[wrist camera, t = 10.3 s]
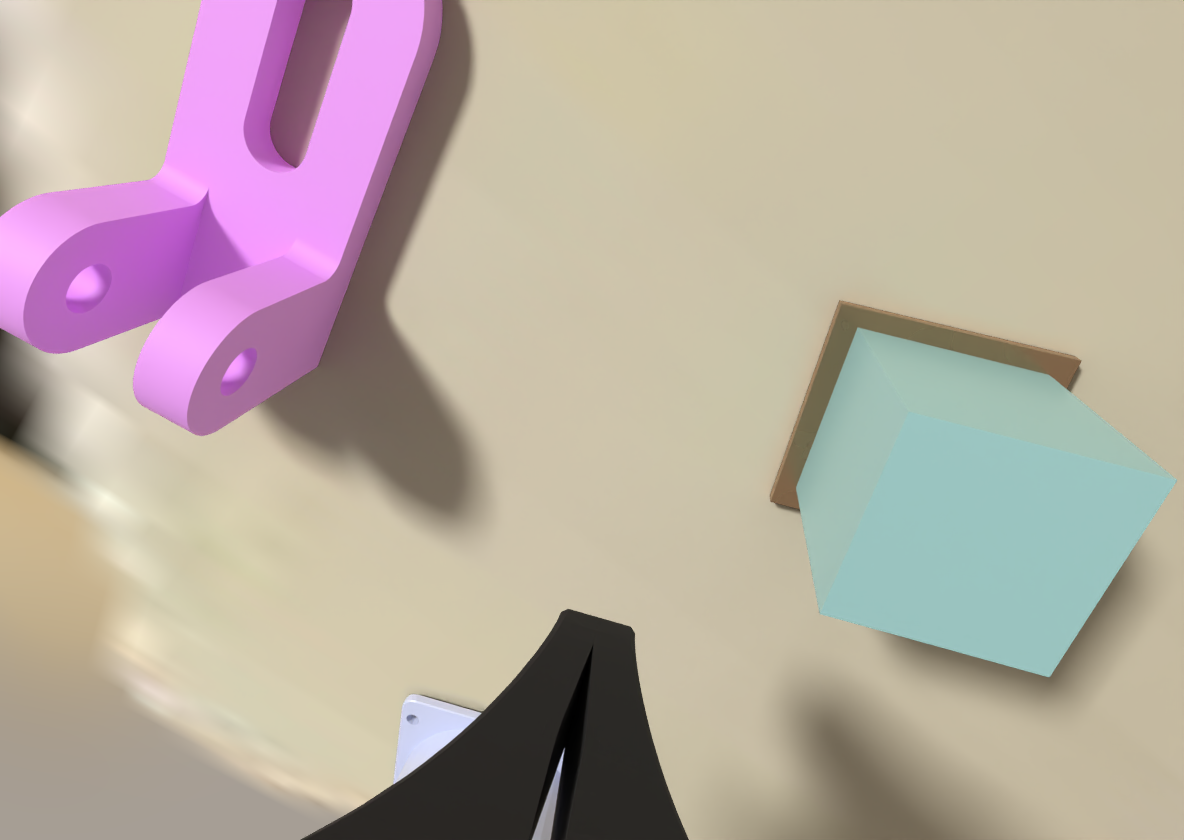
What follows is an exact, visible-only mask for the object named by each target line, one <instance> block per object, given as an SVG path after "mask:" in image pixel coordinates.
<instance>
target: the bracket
mask: <svg viewBox="0 0 1184 840" xmlns="http://www.w3.org/2000/svg"><path fill="white" fill-rule="evenodd" d="M304 4H305V0H202V1H201V6H200V10H199V14H198V19H197V23H196V27H195V32H194V36H193V40H192V45H191V49H190V53H189V58H188V62H187V66H186V71H185V75H184V80H183V84H182V88H181V93H180V97H179V101H178V106H177V110H176V114H175V119H174V123H173V127H172V132H171V136H170V140H169V145H168V149H167V153H166V158H165V162H164V165H163V167H162V169H161V170H160V172H159V173H158V174H157V175H156V176H155V177H154V178H152V179H150V180H146V181H138V182H130V183H122V184H114V185H106V186H98V187H91V188H83V189H75V190H67V191H59V192H51V193H45V194H41V195H37V196H34V197H32V198H29V199H27V200H25V201H23V202H21V203H19V204H18V205H16V206H14V207H13V208H11V209H10V210H9V211H7V212H6V213H5V214H4V215H2V216H1V217H0V328H1V329H3V330H5V331H7V332H9V333H11V334H12V335H14V336H16V337H18V338H20V339H22V340H23V341H25V342H27V343H29V344H31V345H32V346H34V347H36V348H38V349H40V350H42V351H44V352H48V353H58V354H59V353H67V352H71V351H74V350H77V349H80V348H83V347H86V346H88V345H91V344H94V343H96V342H99V341H101V340H104V339H107V338H109V337H112V336H115V335H117V334H120V333H123V332H125V331H128V330H131V329H133V328H136V327H139V326H141V325H144V324H147V323H149V322H152V321H155V320H157V319H160V318H161V319H160V320H159V322H158V323H157V324H156V326H155V327H154V329H153V330H152V332H151V333H150V335H149V337H148V339H147V340H146V342H145V344H144V346H143V348H142V350H141V353H140V355H139V358H138V361H137V364H136V368H135V372H134V378H133V390H134V394H135V397H136V399H137V401H138V402H139V403H140V404H141V405H142V406H144V407H146V408H148V409H149V410H151V411H153V412H155V413H157V414H159V415H160V416H162V417H164V418H166V419H168V420H170V421H171V422H173V423H175V424H177V425H179V426H181V427H182V428H184V429H186V430H188V431H190V432H191V433H193V434H195V435H199V436H204V435H208V434H211V433H214V432H216V431H218V430H219V429H221V428H223V427H224V426H226V425H227V424H229V423H230V422H232V421H233V420H235V419H237V418H238V417H240V416H241V415H243V414H244V413H246V412H248V411H249V410H251V409H252V408H254V407H255V406H257V405H258V404H260V403H262V402H263V401H265V400H266V399H268V398H269V397H271V396H273V395H274V394H276V393H277V392H279V391H280V390H282V389H284V388H285V387H287V386H288V385H290V384H291V383H293V382H294V381H296V380H298V379H299V378H301V377H302V376H304V375H305V374H307V373H309V372H310V371H312V370H313V369H315V368H316V367H318V364H319V361H320V359H321V356H322V354H323V351H324V348H325V346H326V343H327V340H328V338H329V335H330V332H331V330H332V327H333V324H334V322H335V319H336V316H337V314H338V311H339V309H340V306H341V303H342V301H343V298H344V295H345V293H346V290H347V287H348V285H349V282H350V279H351V277H352V274H353V271H354V269H355V266H356V264H357V261H358V258H359V256H360V253H361V250H362V248H363V245H364V242H365V240H366V237H367V234H368V232H369V229H370V226H371V224H372V221H373V219H374V216H375V213H376V211H377V208H378V205H379V203H380V200H381V197H382V195H383V192H384V189H385V187H386V184H387V181H388V179H389V176H390V174H391V171H392V168H393V166H394V163H395V160H396V158H397V155H398V152H399V150H400V147H401V144H402V142H403V139H404V136H405V134H406V131H407V129H408V126H409V123H410V121H411V118H412V115H413V113H414V110H415V107H416V105H417V102H418V99H419V97H420V94H421V92H422V89H423V86H424V84H425V81H426V78H427V76H428V73H429V70H430V68H431V65H432V62H433V60H434V57H435V54H436V51H437V48H438V44H439V39H440V35H441V27H442V11H443V6H442V0H353V3H352V11H351V15H350V18H349V21H348V24H347V27H346V31H345V34H344V37H343V40H342V43H341V46H340V49H339V52H338V56H337V59H336V62H335V65H334V68H333V71H332V74H331V78H330V81H329V84H328V87H327V90H326V93H325V96H324V99H323V103H322V106H321V109H320V112H319V115H318V118H317V121H316V125H315V128H314V131H313V134H312V137H311V140H310V143H309V146H308V150H307V153H306V156H305V158H304V160H303V162H302V163H301V164H300V165H299V166H298V167H297V168H296V167H294V166H292V165H290V164H288V163H287V162H286V161H285V160H283V159H282V158H281V156H280V155H279V154H278V152H277V151H276V149H275V147H274V145H273V143H272V139H271V135H270V122H271V117H272V114H273V111H274V107H275V104H276V100H277V97H278V93H279V90H280V86H281V83H282V80H283V76H284V73H285V69H286V66H287V62H288V59H289V56H290V52H291V49H292V45H293V42H294V38H295V35H296V31H297V28H298V25H299V21H300V18H301V14H302V11H303V7H304Z"/></svg>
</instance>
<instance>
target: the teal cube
mask: <svg viewBox="0 0 1184 840" xmlns="http://www.w3.org/2000/svg"><path fill="white" fill-rule="evenodd" d="M1176 481H1177V479H1175V478H1174V477H1173V476H1172V475H1170V474H1169V473H1168V472H1167V471H1166V470H1164V469H1163V468H1162V467H1161V466H1160V465H1158V464H1157V463H1156V462H1155V461H1153V460H1152V459H1151V458H1150V457H1149V456H1147V455H1146V454H1145V453H1144V452H1142V451H1141V450H1140V449H1139V448H1138V447H1136V446H1135V445H1134V444H1133V443H1132V442H1130V441H1129V440H1128V439H1127V438H1125V437H1124V436H1123V435H1122V434H1121V433H1119V432H1118V431H1117V430H1116V429H1115V428H1113V427H1112V426H1111V425H1110V424H1108V423H1107V422H1106V421H1105V420H1104V419H1102V418H1101V417H1100V416H1099V415H1097V414H1096V413H1095V412H1094V411H1093V410H1091V409H1090V408H1089V407H1088V406H1087V405H1085V404H1084V403H1083V402H1082V401H1080V400H1079V399H1078V398H1077V397H1076V396H1074V395H1073V394H1072V393H1071V392H1069V391H1068V390H1067V389H1066V388H1065V387H1063V386H1062V385H1061V384H1060V383H1059V382H1057V381H1056V380H1055V379H1054V378H1052V377H1051V376H1050V375H1047V374H1043V373H1039V372H1035V371H1031V370H1027V369H1023V368H1019V367H1015V366H1011V365H1007V364H1003V363H999V362H995V361H991V360H987V359H983V358H979V357H975V356H971V355H967V354H963V353H959V352H955V351H951V350H947V349H943V348H939V347H935V346H931V345H927V344H923V343H919V342H915V341H911V340H907V339H903V338H898V337H894V336H890V335H886V334H882V333H878V332H874V331H870V330H866V329H862V328H857V330H856V333H855V335H854V338H853V341H852V343H851V346H850V348H849V351H848V354H847V356H846V359H845V361H844V364H843V367H842V369H841V372H840V374H839V377H838V380H837V382H836V385H835V387H834V390H833V393H832V395H831V398H830V400H829V403H828V406H827V408H826V411H825V413H824V416H823V419H822V421H821V424H820V426H819V429H818V432H817V434H816V437H815V439H814V442H813V445H812V447H811V450H810V452H809V455H808V458H807V460H806V463H805V465H804V468H803V471H802V473H801V476H800V478H799V481H798V484H797V486H796V491H797V496H798V501H799V507H800V512H801V517H802V523H803V528H804V533H805V539H806V544H807V549H808V554H809V560H810V565H811V570H812V576H813V581H814V586H815V592H816V597H817V602H818V607H819V613H820V614H822V615H826V616H829V617H833V618H836V619H840V620H844V621H847V622H851V623H854V624H858V625H862V626H865V627H869V628H872V629H876V630H880V631H883V632H887V633H891V634H894V635H898V636H901V637H905V638H909V639H912V640H916V641H919V642H923V643H927V644H930V645H934V646H938V647H941V648H945V649H948V650H952V651H956V652H959V653H963V654H966V655H970V656H974V657H977V658H981V659H984V660H988V661H992V662H995V663H999V664H1003V665H1006V666H1010V667H1013V668H1017V669H1021V670H1024V671H1028V672H1031V673H1035V674H1039V675H1042V676H1046V677H1050V676H1051V674H1052V673H1053V671H1054V669H1055V668H1056V666H1057V665H1058V663H1059V662H1060V660H1061V659H1062V657H1063V656H1064V654H1065V653H1066V651H1067V649H1068V648H1069V646H1070V645H1071V643H1072V642H1073V640H1074V639H1075V637H1076V636H1077V634H1078V632H1079V631H1080V629H1081V628H1082V626H1083V625H1084V623H1085V622H1086V620H1087V619H1088V617H1089V615H1090V614H1091V612H1092V611H1093V609H1094V608H1095V606H1096V605H1097V603H1098V602H1099V600H1100V599H1101V597H1102V595H1103V594H1104V592H1105V591H1106V589H1107V588H1108V586H1109V585H1110V583H1111V582H1112V580H1113V578H1114V577H1115V575H1116V574H1117V572H1118V571H1119V569H1120V568H1121V566H1122V565H1123V563H1124V561H1125V560H1126V558H1127V557H1128V555H1129V554H1130V552H1131V551H1132V549H1133V548H1134V546H1135V545H1136V543H1137V541H1138V540H1139V538H1140V537H1141V535H1142V534H1143V532H1144V531H1145V529H1146V528H1147V526H1148V524H1149V523H1150V521H1151V520H1152V518H1153V517H1154V515H1155V514H1156V512H1157V511H1158V509H1159V507H1160V506H1161V504H1162V503H1163V501H1164V500H1165V498H1166V497H1167V495H1168V494H1169V492H1170V491H1171V489H1172V487H1173V486H1174V484H1175V483H1176Z"/></svg>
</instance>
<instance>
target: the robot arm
mask: <svg viewBox="0 0 1184 840" xmlns="http://www.w3.org/2000/svg"><path fill="white" fill-rule="evenodd" d="M414 715H415V716H414ZM416 716H417V717H416ZM301 840H689V839H688V837H687V835H686V832H685V830H684V828H683V825H682V823H681V820H680V818H679V816H678V813H677V811H676V808H675V805H674V803H673V800H672V798H671V795H670V792H669V790H668V787H667V784H666V781H665V778H664V775H663V772H662V769H661V766H660V763H659V760H658V756H657V753H656V750H655V746H654V743H653V739H652V736H651V732H650V728H649V724H648V720H647V716H646V711H645V707H644V703H643V698H642V693H641V688H640V682H639V676H638V670H637V662H636V653H635V633H634V631H633V630H632V628H631V627H630V626H626V625H623V624H619V623H616V622H612V621H609V620H605V619H602V618H598V617H595V616H591V615H588V614H584V613H581V612H577V611H574V610H570V609H567V610H565V611H563V612H561V614H560V616H559V618H558V620H557V622H556V624H555V625H554V627H553V629H552V630H551V632H550V634H549V635H548V637H547V638H546V639H545V641H544V642H543V644H542V645H541V646H540V648H539V649H538V650H537V652H536V653H535V654H534V656H533V657H532V658H531V659H530V661H529V662H528V663H527V664H526V665H525V667H524V668H523V669H522V670H521V671H520V673H519V674H518V675H517V676H516V678H515V679H514V680H513V681H512V682H511V683H510V684H509V685H508V686H507V687H506V688H505V690H504V691H503V692H502V693H501V694H500V695H499V696H498V697H497V698H496V699H495V700H494V701H493V702H492V703H491V704H490V705H489V706H488V707H487V708H486V709H485V710H484V711H483V712H482V713H480V712H477V711H473V710H470V709H466V708H463V707H459V706H456V705H452V704H449V703H446V702H442V701H439V700H435V699H432V698H428V697H425V696H421V695H417V694H412V695H409V696H408V697H407V698H406V700H405V701H404V703H403V706H402V713H401V722H400V731H399V739H398V748H397V756H396V765H395V773H394V782H393V785H392V786H390V787H389V788H387V789H386V790H384V791H383V792H381V793H380V794H378V795H377V796H375V797H374V798H372V799H371V800H369V801H368V802H366V803H365V804H363V805H361V806H360V807H358V808H356V809H355V810H353V811H351V812H350V813H348V814H346V815H344V816H342V817H341V818H339V819H337V820H335V821H333V822H332V823H330V824H328V825H326V826H325V827H323V828H321V829H319V830H317V831H316V832H314V833H312V834H310V835H308V836H307V837H305V838H303V839H301Z"/></svg>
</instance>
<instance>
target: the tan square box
mask: <svg viewBox="0 0 1184 840" xmlns="http://www.w3.org/2000/svg"><path fill="white" fill-rule="evenodd" d="M857 328H862V329H866V330H870V331H874V332H878V333H882V334H886V335H890V336H894V337H898V338H903V339H907V340H911V341H915V342H919V343H923V344H927V345H931V346H935V347H939V348H943V349H947V350H951V351H955V352H959V353H963V354H967V355H971V356H975V357H979V358H983V359H987V360H991V361H995V362H999V363H1003V364H1007V365H1011V366H1015V367H1019V368H1023V369H1027V370H1031V371H1035V372H1039V373H1043V374H1047V375H1050V376H1051V377H1052V378H1054V379H1055V380H1056V381H1057V382H1059V383H1060V384H1061V385H1062V386H1063V387H1065V388H1066V389H1067V388H1068V386H1069V384H1070V382H1071V380H1072V378H1073V376H1074V374H1075V372H1076V370H1077V369H1078V367H1079V365H1080V363H1081V360H1079V359H1078V358H1077V357H1075V356H1072V355H1068V354H1064V353H1059V352H1055V351H1051V350H1047V349H1042V348H1038V347H1034V346H1030V345H1026V344H1021V343H1017V342H1013V341H1009V340H1005V339H1000V338H996V337H992V336H988V335H983V334H979V333H975V332H971V331H967V330H962V329H958V328H954V327H950V326H946V325H941V324H937V323H933V322H929V321H924V320H920V319H916V318H912V317H908V316H903V315H899V314H895V313H891V312H887V311H882V310H878V309H874V308H870V307H865V306H861V305H857V304H853V303H849V302H844V301H840V300H839V303H838V306H837V309H836V312H835V314H834V317H833V320H832V323H831V326H830V328H829V331H828V334H827V337H826V340H825V342H824V345H823V348H822V351H821V354H820V356H819V359H818V362H817V365H816V368H815V370H814V373H813V376H812V379H811V382H810V384H809V387H808V390H807V393H806V396H805V398H804V401H803V404H802V407H801V410H800V412H799V415H798V418H797V421H796V424H795V426H794V429H793V432H792V435H791V438H790V440H789V443H788V446H787V449H786V452H785V454H784V457H783V460H782V463H781V466H780V468H779V471H778V474H777V477H776V480H775V482H774V485H773V488H772V491H771V494H770V501H771V502H774V503H777V504H781V505H785V506H789V507H793V508H797V509H800V507H799V501H798V496H797V491H796V486H797V484H798V481H799V478H800V476H801V473H802V471H803V468H804V465H805V463H806V460H807V458H808V455H809V452H810V450H811V447H812V445H813V442H814V439H815V437H816V434H817V432H818V429H819V426H820V424H821V421H822V419H823V416H824V413H825V411H826V408H827V406H828V403H829V400H830V398H831V395H832V393H833V390H834V387H835V385H836V382H837V380H838V377H839V374H840V372H841V369H842V367H843V364H844V361H845V359H846V356H847V354H848V351H849V348H850V346H851V343H852V341H853V338H854V335H855V333H856V330H857Z"/></svg>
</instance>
